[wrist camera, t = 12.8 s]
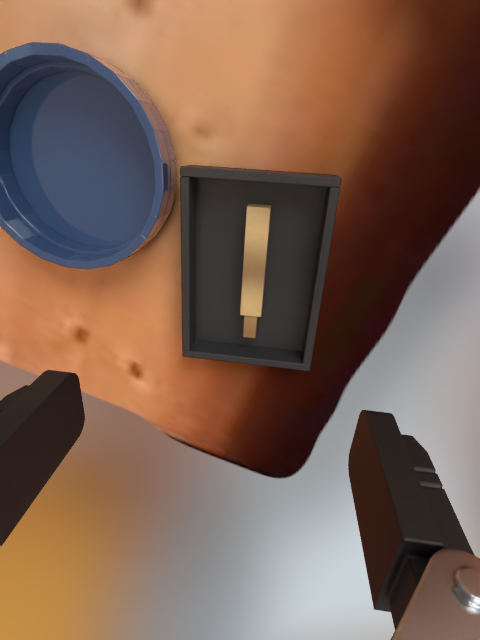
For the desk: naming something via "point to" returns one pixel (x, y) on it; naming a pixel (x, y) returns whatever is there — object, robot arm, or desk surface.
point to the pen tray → (228, 253)
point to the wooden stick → (254, 265)
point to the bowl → (80, 157)
